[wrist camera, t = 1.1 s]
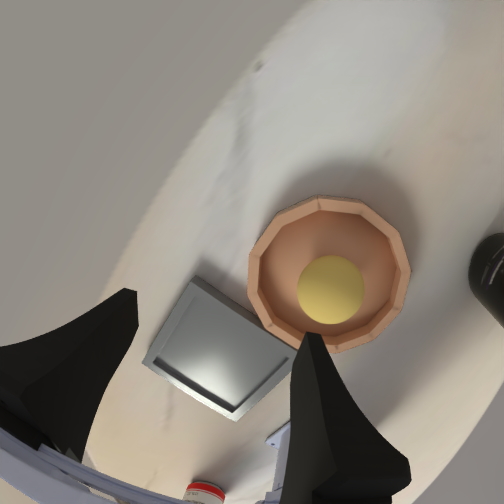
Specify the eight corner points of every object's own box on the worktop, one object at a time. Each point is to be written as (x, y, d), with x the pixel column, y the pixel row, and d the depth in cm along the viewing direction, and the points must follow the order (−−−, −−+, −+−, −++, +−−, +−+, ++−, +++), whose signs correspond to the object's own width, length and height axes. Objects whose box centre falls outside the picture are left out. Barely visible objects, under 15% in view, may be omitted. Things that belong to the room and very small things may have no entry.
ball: (371, 270, 24) (385, 297, 19) (333, 315, 25) (337, 349, 21) (323, 234, 24) (326, 253, 19) (285, 283, 25) (280, 311, 20)
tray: (305, 348, 28) (305, 356, 26) (238, 413, 32) (235, 421, 30) (196, 275, 27) (190, 281, 26) (147, 355, 31) (141, 362, 30)
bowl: (428, 257, 23) (438, 266, 21) (337, 360, 27) (338, 374, 25) (311, 164, 23) (311, 165, 21) (225, 286, 27) (218, 297, 25)
